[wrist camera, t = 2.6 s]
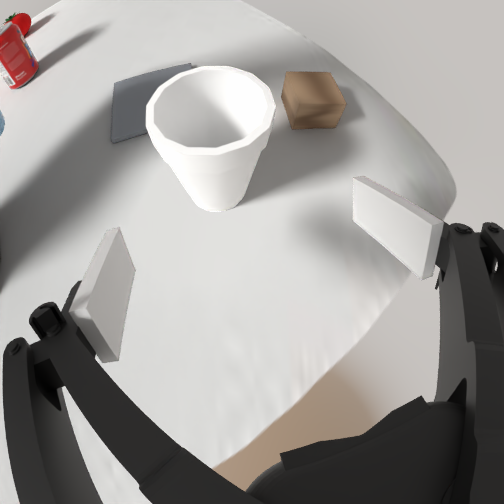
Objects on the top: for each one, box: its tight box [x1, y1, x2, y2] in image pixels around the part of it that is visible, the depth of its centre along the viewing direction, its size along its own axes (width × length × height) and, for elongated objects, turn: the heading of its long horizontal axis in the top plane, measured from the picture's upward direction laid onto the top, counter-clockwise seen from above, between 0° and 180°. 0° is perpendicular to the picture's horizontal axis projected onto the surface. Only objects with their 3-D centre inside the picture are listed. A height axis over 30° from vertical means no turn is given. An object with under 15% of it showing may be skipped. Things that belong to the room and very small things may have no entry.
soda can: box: [0, 22, 39, 89], centre depth 29 cm, size 8×8×15 cm
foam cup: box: [146, 66, 276, 212], centre depth 25 cm, size 10×9×13 cm
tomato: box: [4, 13, 31, 37], centre depth 37 cm, size 10×10×10 cm
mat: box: [111, 63, 192, 143], centre depth 34 cm, size 12×12×1 cm
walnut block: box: [281, 72, 346, 129], centre depth 32 cm, size 6×6×5 cm
